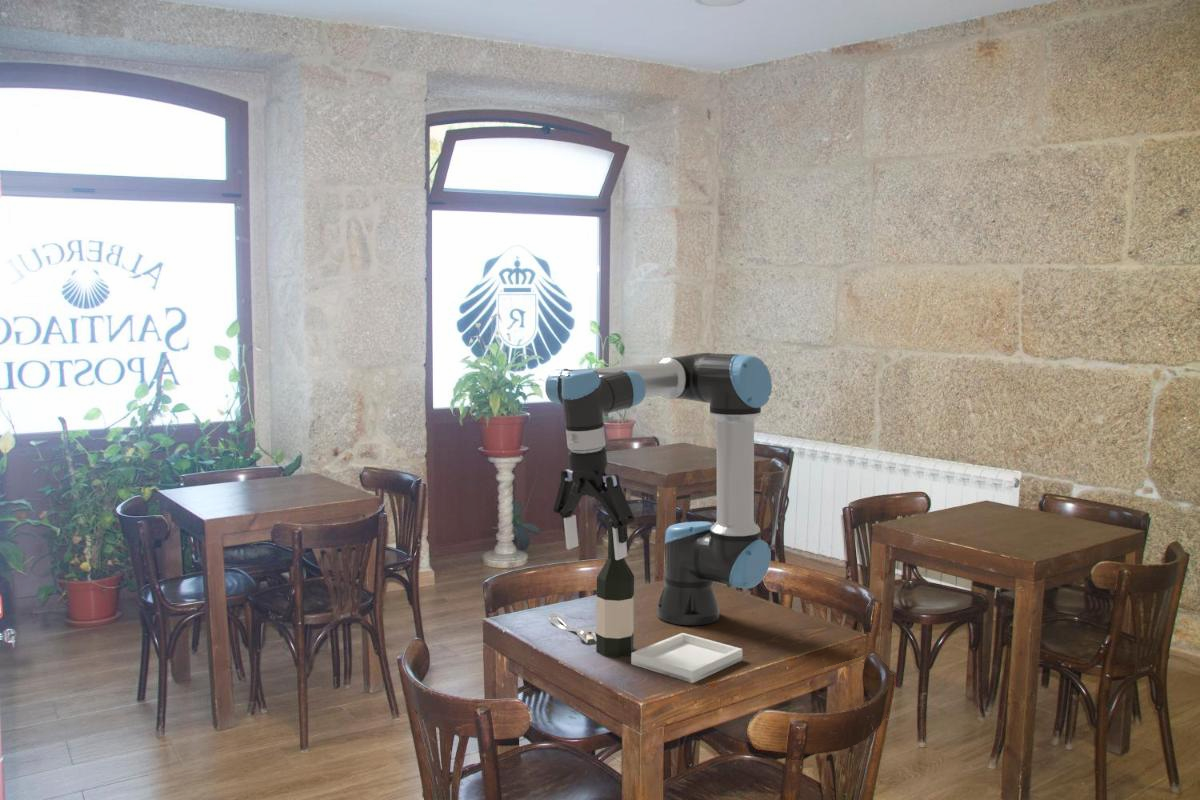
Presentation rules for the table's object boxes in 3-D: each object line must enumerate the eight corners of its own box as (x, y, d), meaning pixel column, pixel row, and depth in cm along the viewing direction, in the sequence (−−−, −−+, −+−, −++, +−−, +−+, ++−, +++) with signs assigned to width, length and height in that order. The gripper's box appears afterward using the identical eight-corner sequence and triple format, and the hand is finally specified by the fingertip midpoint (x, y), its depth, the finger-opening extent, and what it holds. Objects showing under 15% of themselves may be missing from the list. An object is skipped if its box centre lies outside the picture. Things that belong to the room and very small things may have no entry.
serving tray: (682, 643, 228) (682, 632, 228) (742, 660, 218) (742, 648, 217) (631, 664, 215) (631, 652, 215) (692, 683, 204) (692, 671, 204)
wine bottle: (588, 652, 222) (589, 517, 219) (609, 642, 229) (610, 511, 226) (620, 660, 217) (621, 522, 214) (641, 649, 224) (642, 515, 221)
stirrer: (543, 607, 243) (560, 604, 245) (543, 621, 243) (560, 618, 246) (585, 635, 226) (603, 632, 228) (584, 650, 226) (602, 647, 229)
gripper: (530, 447, 205) (540, 548, 208) (620, 458, 188) (629, 568, 191) (556, 440, 210) (566, 538, 214) (646, 450, 193) (655, 557, 196)
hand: (596, 552), depth 202 cm, fingers open, 13 cm apart
